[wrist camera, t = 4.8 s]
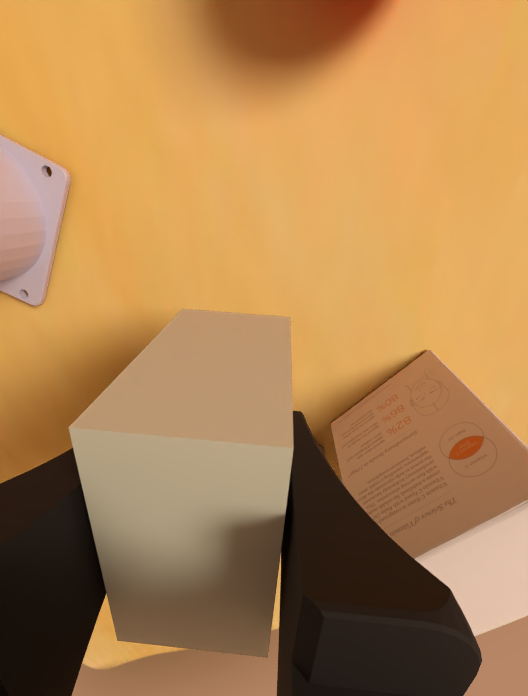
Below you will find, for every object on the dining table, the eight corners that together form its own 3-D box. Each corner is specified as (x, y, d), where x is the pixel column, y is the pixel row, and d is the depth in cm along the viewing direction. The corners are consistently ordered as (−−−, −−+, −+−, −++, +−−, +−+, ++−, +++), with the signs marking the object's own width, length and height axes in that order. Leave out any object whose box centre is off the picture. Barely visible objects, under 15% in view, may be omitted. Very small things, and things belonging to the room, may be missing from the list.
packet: (188, 454, 15) (115, 640, 9) (181, 308, 12) (65, 427, 6) (276, 462, 15) (267, 657, 9) (290, 317, 12) (293, 448, 6)
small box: (380, 468, 23) (444, 653, 14) (327, 421, 22) (358, 591, 13) (482, 402, 21) (650, 576, 11) (430, 344, 19) (569, 486, 10)
